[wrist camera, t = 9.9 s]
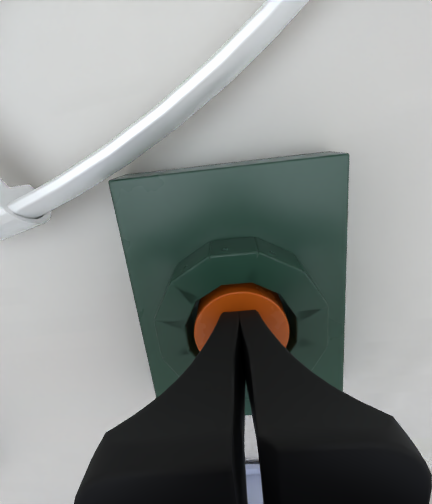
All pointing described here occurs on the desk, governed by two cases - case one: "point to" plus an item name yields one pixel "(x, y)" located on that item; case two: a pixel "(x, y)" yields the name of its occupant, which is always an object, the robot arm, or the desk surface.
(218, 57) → the door handle
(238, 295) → the bell button
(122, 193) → the button base
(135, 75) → the desk surface
